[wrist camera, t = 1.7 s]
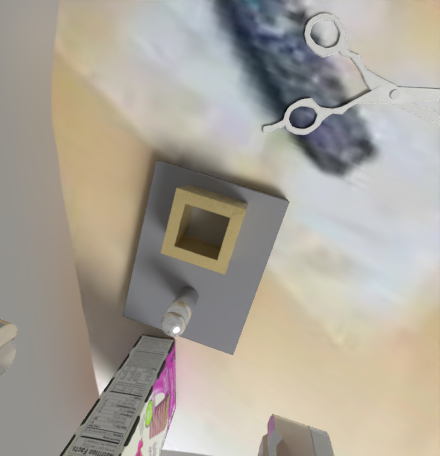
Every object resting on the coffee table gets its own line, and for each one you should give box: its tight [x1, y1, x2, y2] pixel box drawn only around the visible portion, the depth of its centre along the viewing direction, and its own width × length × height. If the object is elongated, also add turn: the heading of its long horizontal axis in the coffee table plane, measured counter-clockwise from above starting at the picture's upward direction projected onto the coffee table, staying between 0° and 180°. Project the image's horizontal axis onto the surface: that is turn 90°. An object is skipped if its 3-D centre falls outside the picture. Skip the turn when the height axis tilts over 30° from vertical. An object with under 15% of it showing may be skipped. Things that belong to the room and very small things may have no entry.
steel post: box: [161, 286, 199, 337], centre depth 27 cm, size 2×2×6 cm
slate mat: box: [123, 161, 289, 355], centre depth 30 cm, size 19×14×2 cm
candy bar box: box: [60, 335, 176, 456], centre depth 27 cm, size 11×5×16 cm, turn 178°
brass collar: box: [161, 184, 248, 275], centre depth 26 cm, size 6×6×4 cm
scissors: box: [263, 13, 440, 135], centre depth 24 cm, size 11×1×20 cm
